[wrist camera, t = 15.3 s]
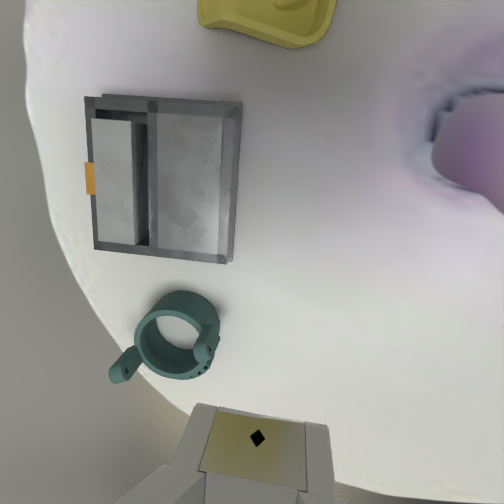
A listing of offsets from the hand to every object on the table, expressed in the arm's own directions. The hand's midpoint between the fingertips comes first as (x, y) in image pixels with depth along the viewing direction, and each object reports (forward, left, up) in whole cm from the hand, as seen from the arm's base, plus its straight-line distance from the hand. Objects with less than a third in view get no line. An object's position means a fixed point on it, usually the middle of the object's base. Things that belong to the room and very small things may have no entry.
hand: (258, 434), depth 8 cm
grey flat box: (-3, -12, -28) cm, 31 cm away
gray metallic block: (-3, -16, -28) cm, 32 cm away
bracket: (+14, -10, -29) cm, 34 cm away
